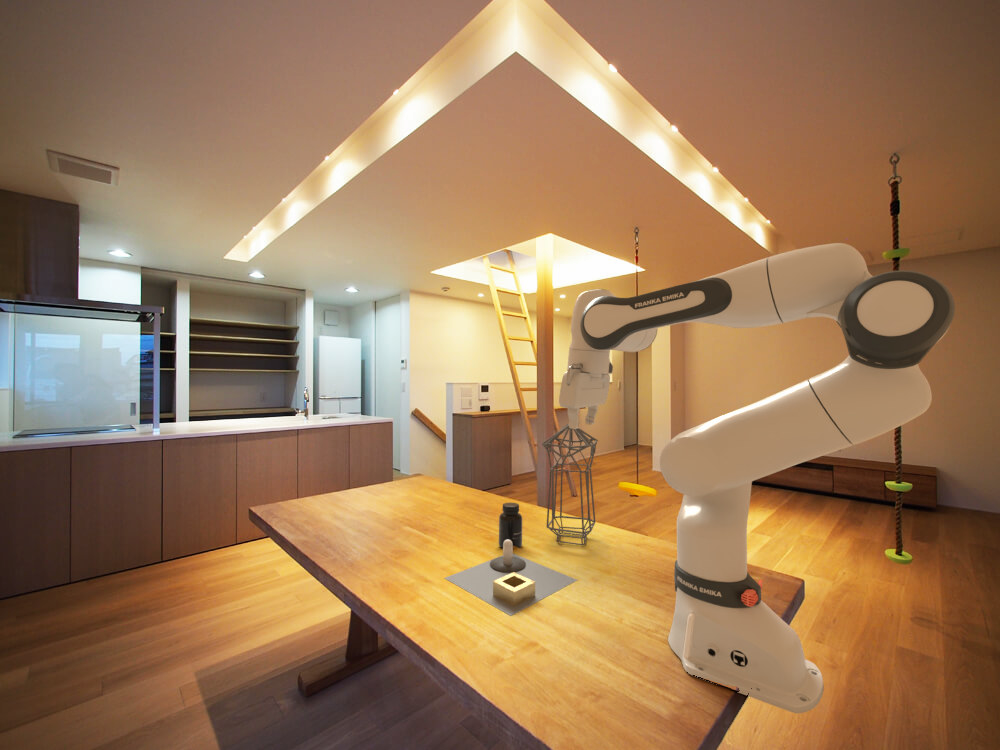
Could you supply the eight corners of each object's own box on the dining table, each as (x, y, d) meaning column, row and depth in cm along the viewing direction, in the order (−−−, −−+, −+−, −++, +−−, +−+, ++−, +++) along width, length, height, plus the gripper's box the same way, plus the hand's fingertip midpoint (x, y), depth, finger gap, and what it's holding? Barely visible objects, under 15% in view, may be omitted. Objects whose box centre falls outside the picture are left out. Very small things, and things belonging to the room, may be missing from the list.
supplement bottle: (520, 551, 116) (520, 508, 116) (496, 549, 117) (496, 507, 118) (523, 542, 123) (523, 501, 123) (501, 540, 124) (501, 500, 124)
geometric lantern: (594, 552, 115) (594, 427, 116) (539, 545, 120) (539, 425, 121) (600, 533, 130) (599, 422, 131) (550, 528, 135) (550, 421, 136)
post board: (577, 586, 96) (577, 552, 96) (510, 623, 80) (510, 583, 81) (510, 557, 111) (510, 529, 112) (444, 584, 96) (444, 551, 97)
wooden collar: (535, 596, 88) (535, 581, 88) (514, 607, 84) (514, 591, 84) (513, 585, 93) (513, 572, 93) (492, 595, 88) (493, 581, 88)
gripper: (584, 364, 81) (577, 434, 81) (615, 366, 98) (610, 424, 99) (554, 361, 84) (548, 428, 85) (590, 364, 101) (585, 420, 102)
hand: (582, 426), depth 92 cm, fingers open, 8 cm apart
